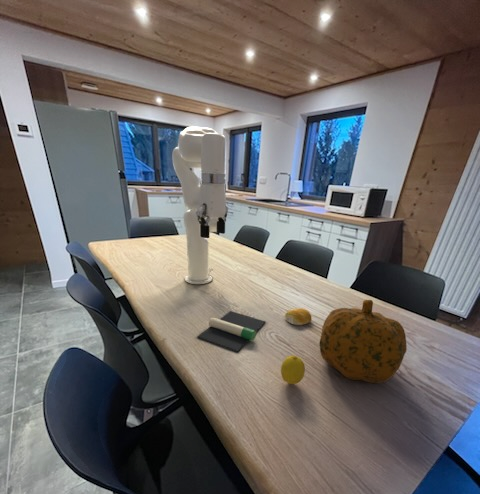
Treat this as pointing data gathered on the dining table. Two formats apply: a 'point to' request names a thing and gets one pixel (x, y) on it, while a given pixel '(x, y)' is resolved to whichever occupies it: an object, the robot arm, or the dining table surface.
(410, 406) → the dining table surface
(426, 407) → the dining table surface
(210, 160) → the robot arm
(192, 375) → the dining table surface
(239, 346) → the felt mat
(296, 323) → the bread roll
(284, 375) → the lemon
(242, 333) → the marker
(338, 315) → the decorative pumpkin
